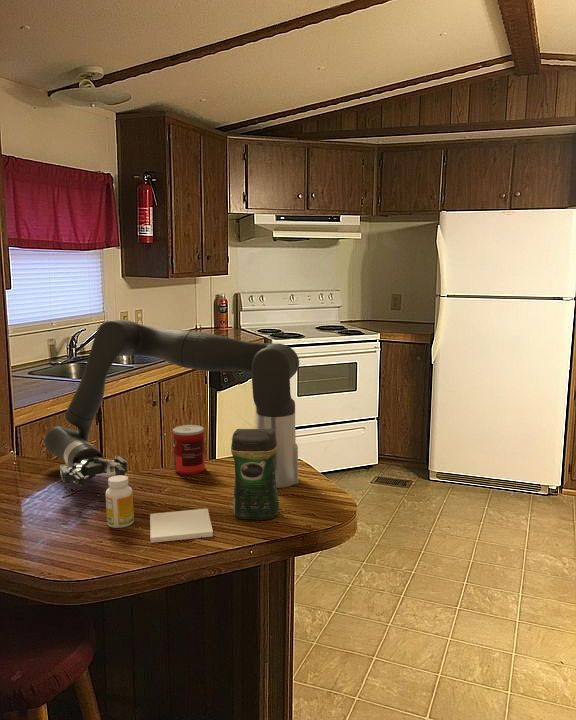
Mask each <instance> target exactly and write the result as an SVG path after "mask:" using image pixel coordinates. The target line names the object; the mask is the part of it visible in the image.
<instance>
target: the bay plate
mask: <svg viewBox="0 0 576 720" xmlns="http://www.w3.org/2000/svg"><path fill="white" fill-rule="evenodd" d="M149 515H150V516H149V519H150V520H149V524H150V525H149V526H150V527H149V528H150V529H149V533H150V535H149V537H150V543H160V542H161V543H163V542H170V541H179V540H181V541H183V540H190V539H200V538H201V537H202V538H209V537H214V530H213V527H212V522H211V517H210V513H209V509H208V508H199V509H188V510H187V509H186V510H179V511H178V510H177V511H167V512H157V513H155V512H154V513H149ZM202 538H201V539H202Z"/></svg>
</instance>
